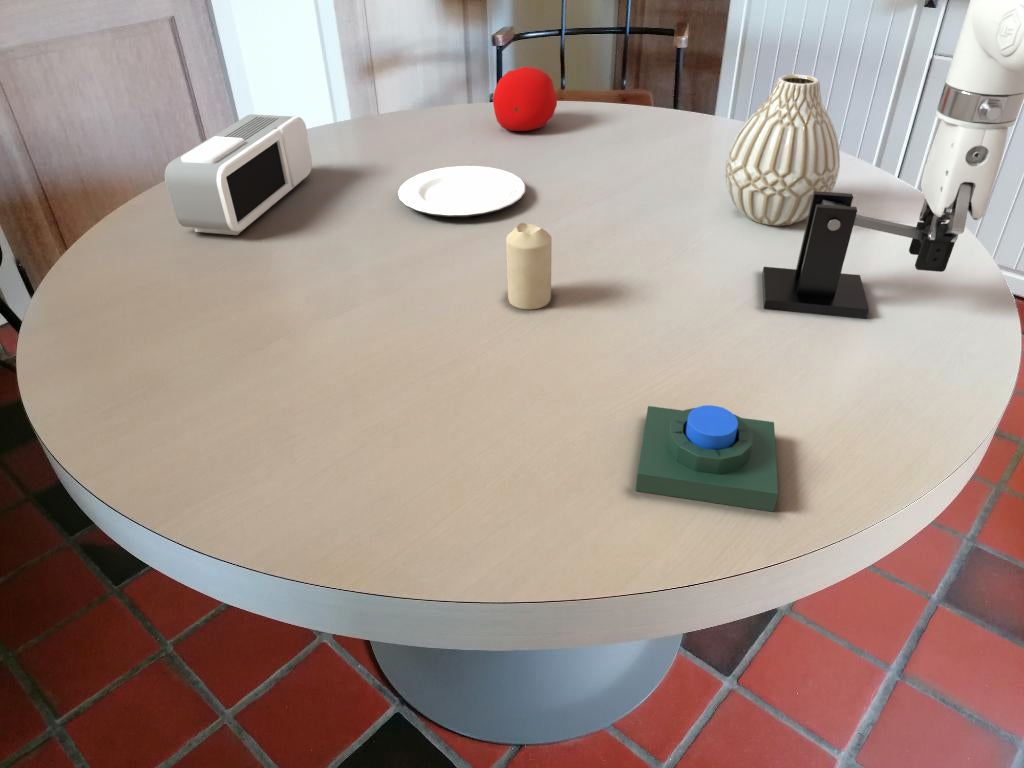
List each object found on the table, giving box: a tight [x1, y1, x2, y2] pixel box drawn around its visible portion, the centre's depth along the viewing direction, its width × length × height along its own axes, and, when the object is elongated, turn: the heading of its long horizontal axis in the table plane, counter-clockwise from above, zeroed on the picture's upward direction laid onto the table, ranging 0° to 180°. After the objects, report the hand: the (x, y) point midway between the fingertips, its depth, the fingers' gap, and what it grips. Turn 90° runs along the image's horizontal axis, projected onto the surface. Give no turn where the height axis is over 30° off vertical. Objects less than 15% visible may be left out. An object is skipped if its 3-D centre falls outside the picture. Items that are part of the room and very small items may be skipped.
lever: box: [821, 200, 942, 245], centre depth 88 cm, size 15×3×3 cm, turn 76°
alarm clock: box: [164, 114, 313, 236], centre depth 120 cm, size 27×9×12 cm, turn 167°
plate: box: [397, 165, 526, 218], centre depth 123 cm, size 21×21×2 cm
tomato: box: [492, 66, 558, 132], centre depth 150 cm, size 13×13×13 cm
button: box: [686, 404, 738, 450], centre depth 68 cm, size 4×4×2 cm
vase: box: [725, 73, 841, 227], centre depth 110 cm, size 16×16×20 cm
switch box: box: [635, 405, 779, 512], centre depth 69 cm, size 12×10×4 cm
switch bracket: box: [761, 191, 870, 320], centre depth 92 cm, size 12×9×13 cm
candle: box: [505, 222, 553, 310], centre depth 93 cm, size 6×6×10 cm
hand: (926, 260), depth 90 cm, fingers closed on lever, 3 cm apart
